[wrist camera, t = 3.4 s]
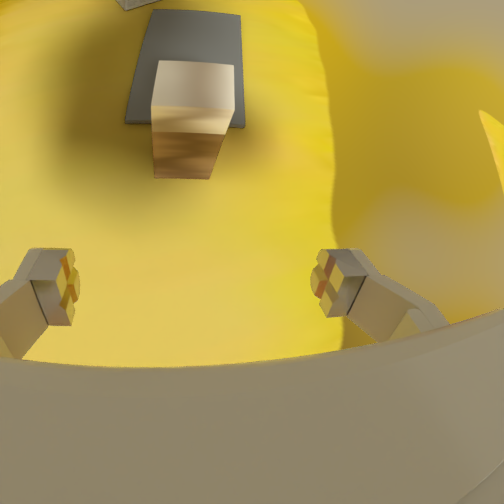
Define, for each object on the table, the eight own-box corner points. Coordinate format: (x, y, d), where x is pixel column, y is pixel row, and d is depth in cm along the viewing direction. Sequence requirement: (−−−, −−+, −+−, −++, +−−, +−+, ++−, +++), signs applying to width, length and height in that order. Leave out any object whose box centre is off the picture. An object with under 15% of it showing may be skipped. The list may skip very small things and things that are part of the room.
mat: (125, 123, 26) (124, 120, 25) (153, 12, 29) (153, 9, 28) (243, 128, 29) (245, 124, 28) (239, 18, 32) (240, 15, 32)
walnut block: (154, 178, 26) (151, 105, 15) (157, 140, 26) (159, 60, 16) (209, 179, 27) (234, 109, 17) (209, 142, 28) (233, 65, 17)
